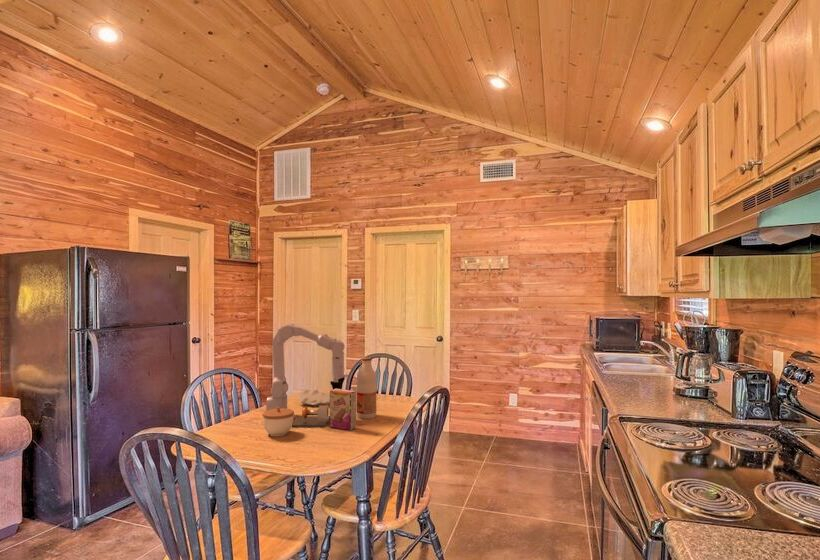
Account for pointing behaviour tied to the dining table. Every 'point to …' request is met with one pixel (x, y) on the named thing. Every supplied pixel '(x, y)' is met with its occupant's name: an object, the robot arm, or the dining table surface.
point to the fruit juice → (366, 390)
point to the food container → (314, 398)
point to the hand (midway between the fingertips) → (337, 394)
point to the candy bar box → (343, 409)
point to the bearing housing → (314, 419)
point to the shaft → (308, 412)
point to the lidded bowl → (278, 421)
